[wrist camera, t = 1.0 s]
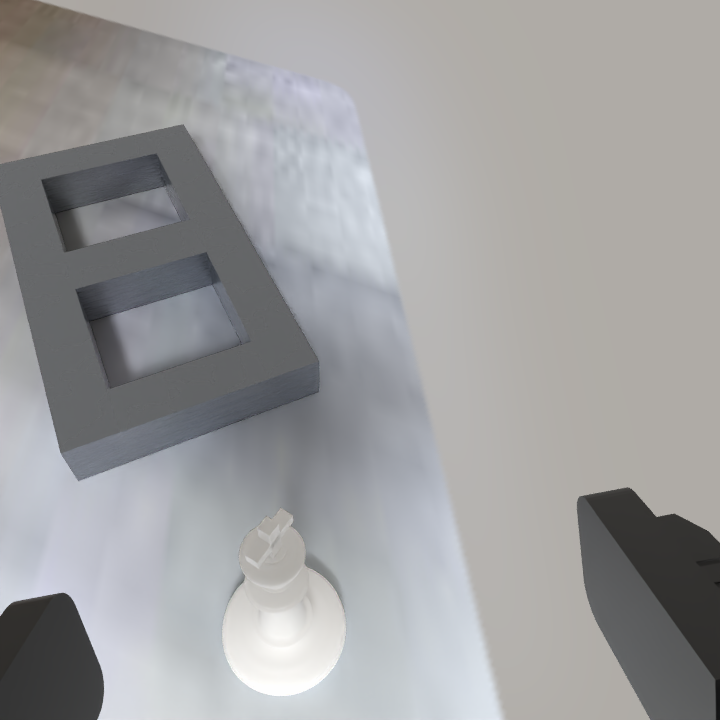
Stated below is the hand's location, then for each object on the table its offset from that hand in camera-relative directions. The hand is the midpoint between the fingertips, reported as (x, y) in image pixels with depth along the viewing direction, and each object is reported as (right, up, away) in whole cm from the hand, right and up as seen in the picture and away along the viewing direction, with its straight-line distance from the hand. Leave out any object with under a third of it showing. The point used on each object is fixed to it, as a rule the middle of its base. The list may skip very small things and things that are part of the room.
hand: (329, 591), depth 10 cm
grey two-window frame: (-12, +8, +27) cm, 30 cm away
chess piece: (-3, -7, +16) cm, 18 cm away
